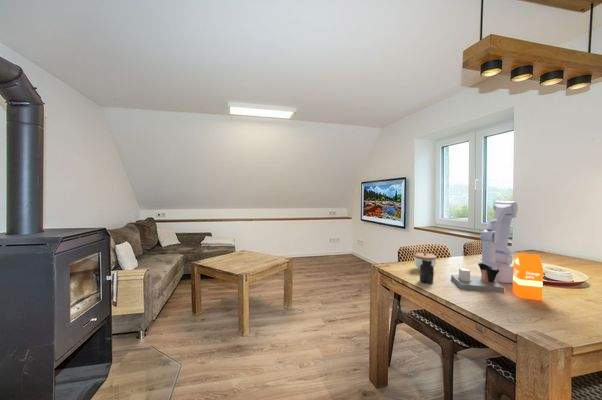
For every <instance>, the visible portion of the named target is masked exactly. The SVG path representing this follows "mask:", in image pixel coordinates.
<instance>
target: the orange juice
mask: <svg viewBox="0 0 602 400" xmlns="http://www.w3.org/2000/svg"><path fill="white" fill-rule="evenodd" d="M513 268H514V271H513V283H512V293H513V294H515V295H516V297H518V298H520V299H529V300H538V301H542V300H543V288H544V286H543V284H544V283H543V282H544V281H543V280H544V279H543V278H544V268H543V263H542V259H541V255H540V254H535V253H534V254H533V253H520V252H518V253H516V256H515V259H514V260H513Z"/></svg>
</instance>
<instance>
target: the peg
mask: <svg viewBox="0 0 602 400" xmlns="http://www.w3.org/2000/svg"><path fill="white" fill-rule="evenodd" d="M480 277H481V281H482V282H484V283H492V282H489V281H488V275H487V271H486V270H482V274H481V275H480Z"/></svg>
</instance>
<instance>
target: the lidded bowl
mask: <svg viewBox="0 0 602 400" xmlns="http://www.w3.org/2000/svg"><path fill="white" fill-rule="evenodd" d="M413 256H414V259H413V260H414V264H415V267H416V268H417V269H418V271H420V265H421V264H422V259H429V260H432V264H431V265H432V266H433V267H434V268H435V266H436V264H437V255H435V254H432V253H427V252H426V251H424V252H416V253H414V255H413Z"/></svg>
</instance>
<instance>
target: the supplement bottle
mask: <svg viewBox="0 0 602 400" xmlns="http://www.w3.org/2000/svg"><path fill="white" fill-rule="evenodd" d="M431 264H432V260H429V259H422V264H421V265H420V270H419V282H421V283H422V284H428V285H429V284H430V285H431V284H433V283H434V274H435V273H434V272H435V271H434V268H435V267H433V266H432V265H431Z"/></svg>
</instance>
